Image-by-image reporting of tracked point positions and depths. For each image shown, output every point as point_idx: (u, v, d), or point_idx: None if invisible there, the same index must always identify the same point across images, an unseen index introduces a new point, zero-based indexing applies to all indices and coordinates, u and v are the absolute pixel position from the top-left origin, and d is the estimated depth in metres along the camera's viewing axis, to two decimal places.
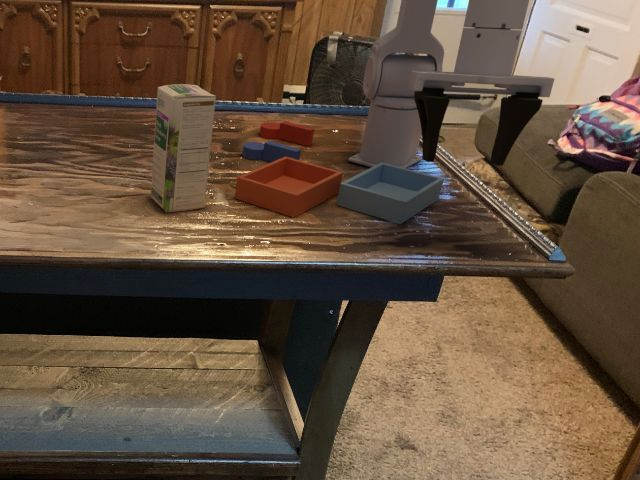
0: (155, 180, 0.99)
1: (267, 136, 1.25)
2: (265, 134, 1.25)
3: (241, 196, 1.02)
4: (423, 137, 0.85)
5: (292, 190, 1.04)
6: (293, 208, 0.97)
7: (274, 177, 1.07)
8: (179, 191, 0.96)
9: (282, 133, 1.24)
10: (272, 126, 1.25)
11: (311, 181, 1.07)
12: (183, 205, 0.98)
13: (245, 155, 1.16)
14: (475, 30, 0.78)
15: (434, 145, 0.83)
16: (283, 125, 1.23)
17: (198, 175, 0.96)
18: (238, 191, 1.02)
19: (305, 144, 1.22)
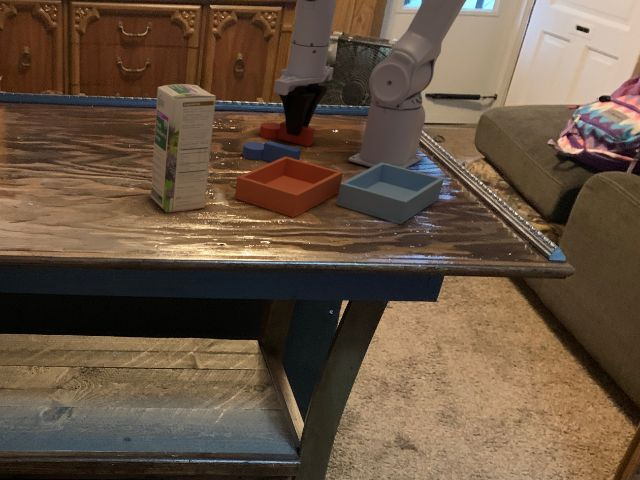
0: (155, 180, 0.99)
1: (267, 136, 1.25)
2: (265, 134, 1.25)
3: (241, 196, 1.02)
4: None
5: (292, 190, 1.04)
6: (293, 208, 0.97)
7: (274, 177, 1.07)
8: (179, 191, 0.96)
9: (282, 133, 1.24)
10: (272, 126, 1.25)
11: (311, 181, 1.07)
12: (183, 205, 0.98)
13: (245, 155, 1.16)
14: None
15: None
16: (283, 125, 1.23)
17: (198, 174, 0.96)
18: (238, 191, 1.02)
19: (305, 144, 1.22)
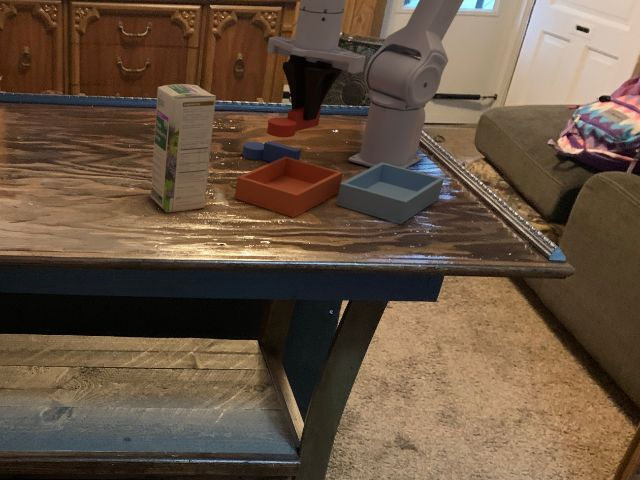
0: (155, 180, 0.99)
1: (293, 133, 1.03)
2: (292, 132, 1.02)
3: (241, 196, 1.02)
4: None
5: (292, 190, 1.04)
6: (293, 208, 0.97)
7: (274, 177, 1.07)
8: (179, 191, 0.96)
9: (297, 123, 1.04)
10: (286, 121, 1.03)
11: (311, 181, 1.07)
12: (183, 205, 0.98)
13: (245, 155, 1.16)
14: (299, 10, 0.98)
15: (295, 103, 1.04)
16: (299, 114, 1.03)
17: (198, 174, 0.96)
18: (238, 191, 1.02)
19: (316, 124, 1.07)
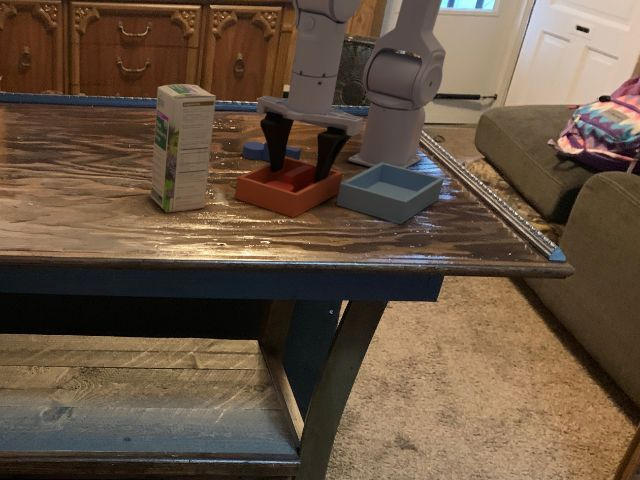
0: (155, 180, 0.99)
1: None
2: None
3: (241, 196, 1.02)
4: None
5: None
6: (293, 208, 0.97)
7: (274, 177, 1.07)
8: (179, 191, 0.96)
9: (293, 186, 1.03)
10: (282, 186, 1.01)
11: (311, 181, 1.07)
12: (183, 205, 0.98)
13: (245, 155, 1.16)
14: None
15: (273, 159, 1.04)
16: (294, 178, 1.02)
17: (198, 174, 0.96)
18: (238, 191, 1.02)
19: (308, 184, 1.06)
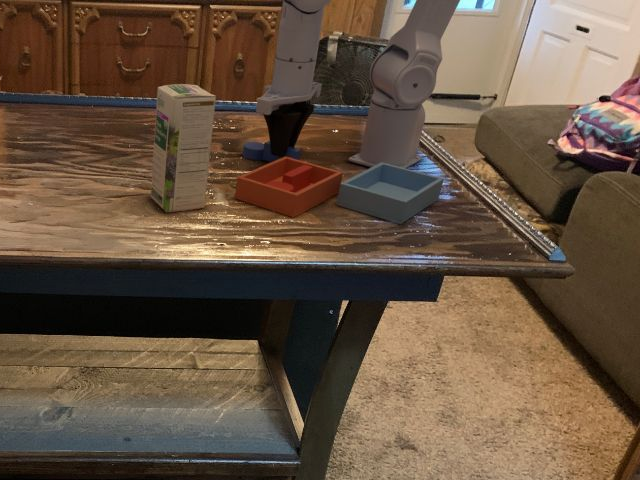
0: (155, 180, 0.99)
1: None
2: None
3: (241, 196, 1.02)
4: None
5: None
6: (293, 208, 0.97)
7: (274, 177, 1.07)
8: (179, 191, 0.96)
9: (293, 186, 1.03)
10: (282, 186, 1.01)
11: (311, 181, 1.07)
12: (183, 205, 0.98)
13: (245, 155, 1.16)
14: None
15: None
16: (294, 178, 1.02)
17: (198, 174, 0.96)
18: (238, 191, 1.02)
19: (308, 184, 1.06)
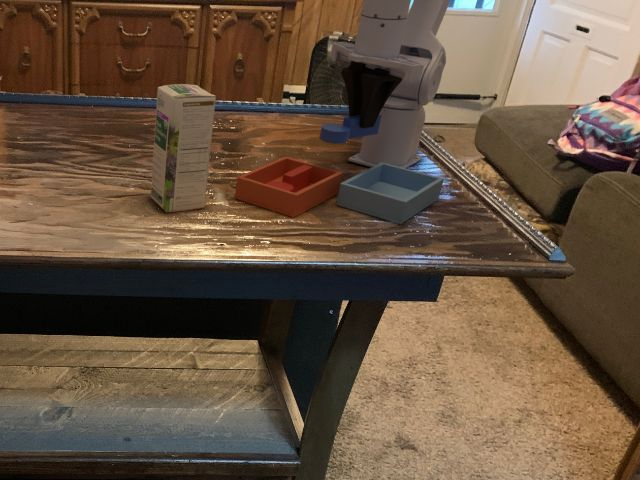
0: (155, 180, 0.99)
1: None
2: None
3: (241, 196, 1.02)
4: None
5: None
6: (293, 208, 0.97)
7: (274, 177, 1.07)
8: (179, 191, 0.96)
9: (293, 186, 1.03)
10: (282, 186, 1.01)
11: (311, 181, 1.07)
12: (183, 205, 0.98)
13: (340, 141, 1.01)
14: (360, 15, 0.97)
15: (352, 110, 1.03)
16: (294, 178, 1.02)
17: (198, 174, 0.96)
18: (238, 191, 1.02)
19: (308, 184, 1.06)
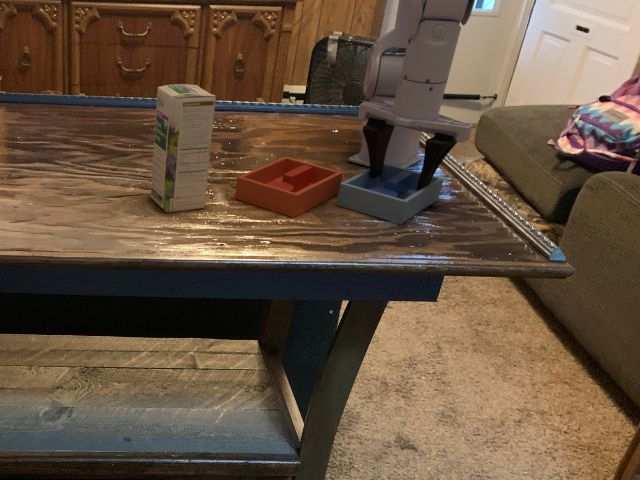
0: (155, 180, 0.99)
1: None
2: None
3: (241, 196, 1.02)
4: None
5: None
6: (293, 208, 0.97)
7: (274, 177, 1.07)
8: (179, 191, 0.96)
9: (293, 186, 1.03)
10: (282, 186, 1.01)
11: (311, 181, 1.07)
12: (183, 205, 0.98)
13: None
14: (400, 78, 0.96)
15: (374, 166, 1.03)
16: (294, 178, 1.02)
17: (198, 175, 0.96)
18: (238, 191, 1.02)
19: (308, 184, 1.06)
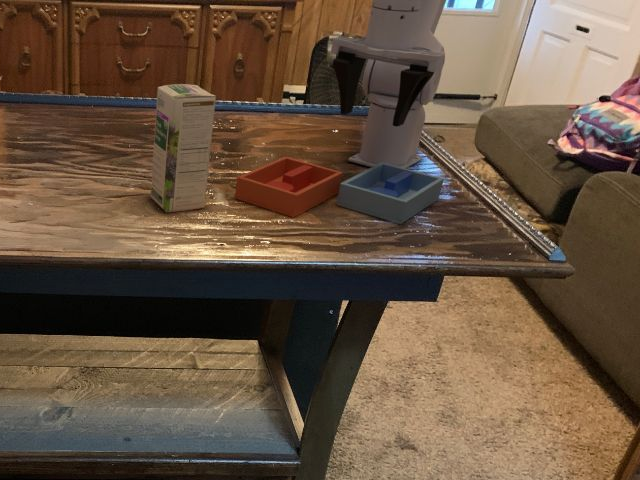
0: (155, 180, 0.99)
1: None
2: None
3: (241, 196, 1.02)
4: None
5: None
6: (293, 208, 0.97)
7: (274, 177, 1.07)
8: (179, 191, 0.96)
9: (293, 186, 1.03)
10: (282, 186, 1.01)
11: (311, 181, 1.07)
12: (183, 205, 0.98)
13: None
14: (372, 8, 0.95)
15: (344, 101, 1.03)
16: (294, 178, 1.02)
17: (198, 175, 0.96)
18: (238, 191, 1.02)
19: (308, 184, 1.06)
